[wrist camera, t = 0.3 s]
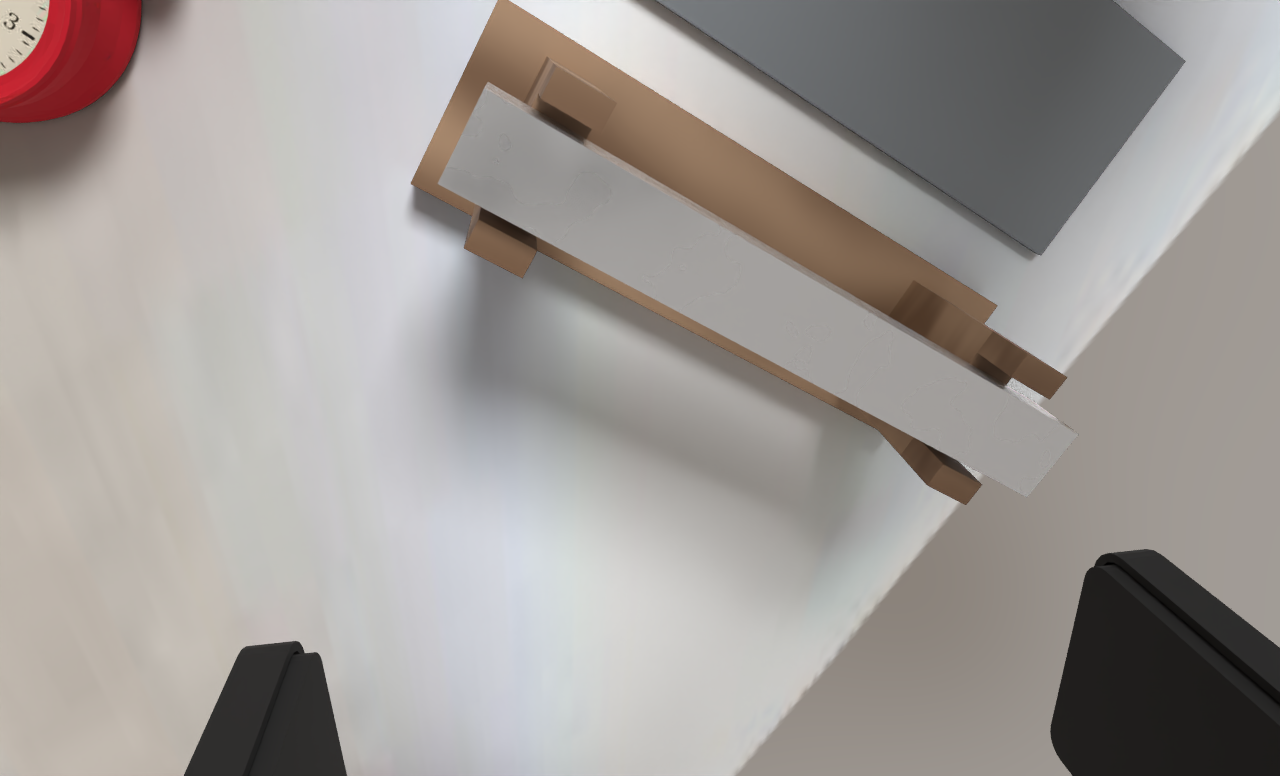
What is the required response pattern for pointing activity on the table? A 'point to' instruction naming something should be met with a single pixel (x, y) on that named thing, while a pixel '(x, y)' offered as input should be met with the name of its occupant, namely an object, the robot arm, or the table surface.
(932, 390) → the steel rail
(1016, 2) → the rubber mat
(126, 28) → the alarm clock
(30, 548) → the table surface
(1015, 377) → the walnut rail stand
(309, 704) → the robot arm
